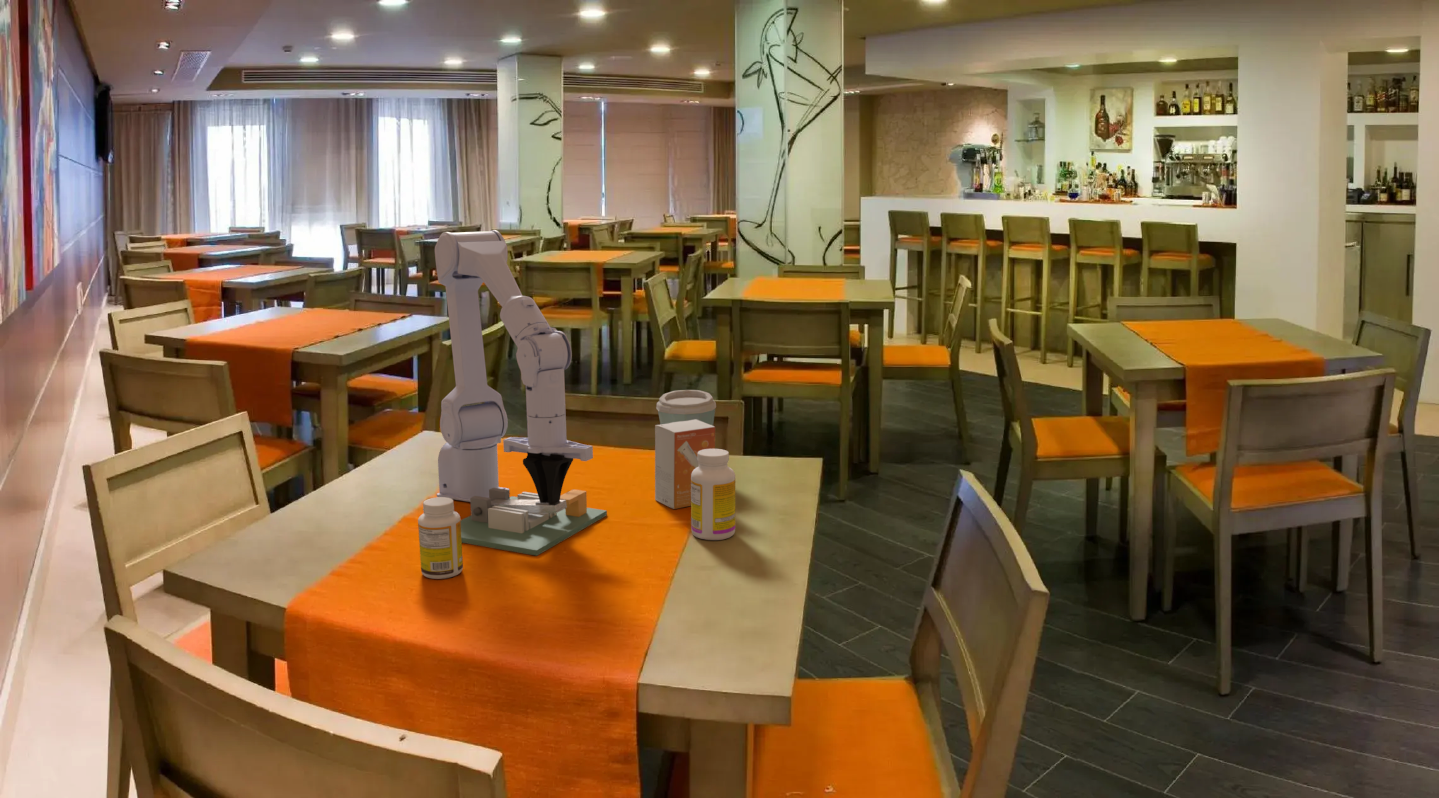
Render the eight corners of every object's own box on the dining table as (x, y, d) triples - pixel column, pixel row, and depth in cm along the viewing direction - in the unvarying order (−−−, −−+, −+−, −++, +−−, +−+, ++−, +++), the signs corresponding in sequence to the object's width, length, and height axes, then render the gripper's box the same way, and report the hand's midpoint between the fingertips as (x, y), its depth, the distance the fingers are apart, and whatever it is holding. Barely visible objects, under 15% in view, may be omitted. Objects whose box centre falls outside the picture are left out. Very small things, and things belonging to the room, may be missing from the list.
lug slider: (586, 512, 170) (586, 491, 170) (569, 521, 166) (569, 499, 165) (573, 510, 171) (573, 489, 171) (556, 519, 167) (556, 497, 166)
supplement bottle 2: (740, 530, 165) (741, 448, 163) (726, 543, 159) (727, 459, 156) (699, 525, 167) (700, 444, 165) (684, 538, 161) (684, 455, 159)
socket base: (434, 537, 161) (433, 509, 160) (512, 500, 179) (511, 475, 178) (536, 555, 154) (535, 526, 153) (606, 515, 172) (606, 488, 171)
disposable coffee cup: (715, 485, 188) (716, 401, 185) (654, 485, 188) (653, 401, 185) (716, 468, 198) (717, 389, 195) (658, 468, 199) (657, 388, 195)
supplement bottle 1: (446, 562, 151) (443, 492, 149) (471, 572, 148) (468, 500, 145) (412, 573, 147) (408, 501, 145) (437, 583, 143) (433, 510, 141)
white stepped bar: (485, 511, 167) (483, 502, 167) (496, 506, 170) (495, 497, 169) (556, 513, 162) (554, 503, 161) (566, 507, 164) (565, 497, 164)
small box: (674, 510, 175) (673, 432, 172) (654, 500, 180) (653, 424, 177) (715, 502, 179) (716, 425, 176) (695, 492, 184) (695, 418, 181)
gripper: (489, 415, 160) (494, 503, 163) (574, 423, 154) (577, 514, 157) (517, 406, 166) (520, 490, 169) (598, 413, 161) (601, 501, 163)
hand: (549, 501), depth 163 cm, fingers closed, pressing on white stepped bar
